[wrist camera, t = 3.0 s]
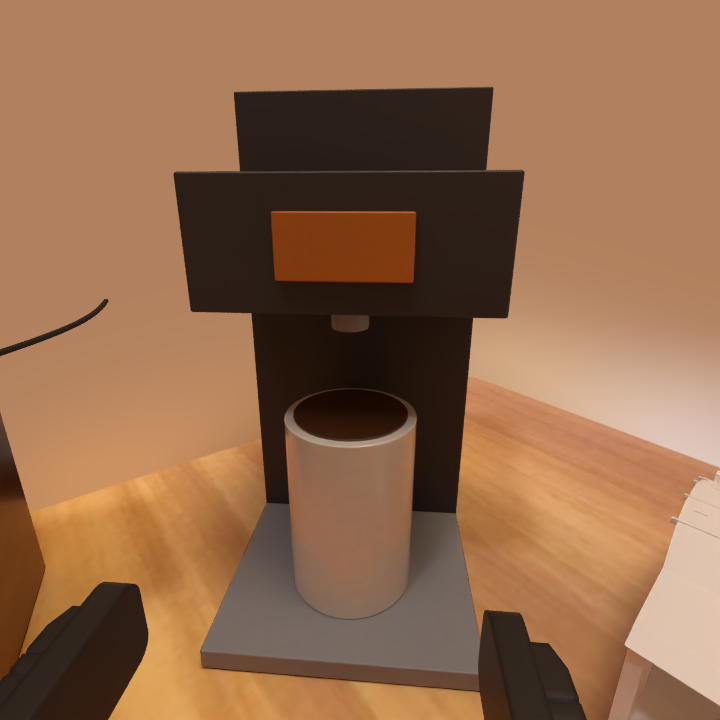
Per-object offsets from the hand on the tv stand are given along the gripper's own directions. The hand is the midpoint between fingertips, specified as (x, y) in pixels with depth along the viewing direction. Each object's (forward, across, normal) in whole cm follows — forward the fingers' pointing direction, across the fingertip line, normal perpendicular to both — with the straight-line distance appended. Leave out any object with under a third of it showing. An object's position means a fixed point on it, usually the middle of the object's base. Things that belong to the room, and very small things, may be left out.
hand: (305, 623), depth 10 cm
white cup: (+10, 0, +9) cm, 14 cm away
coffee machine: (+13, 0, +10) cm, 17 cm away
